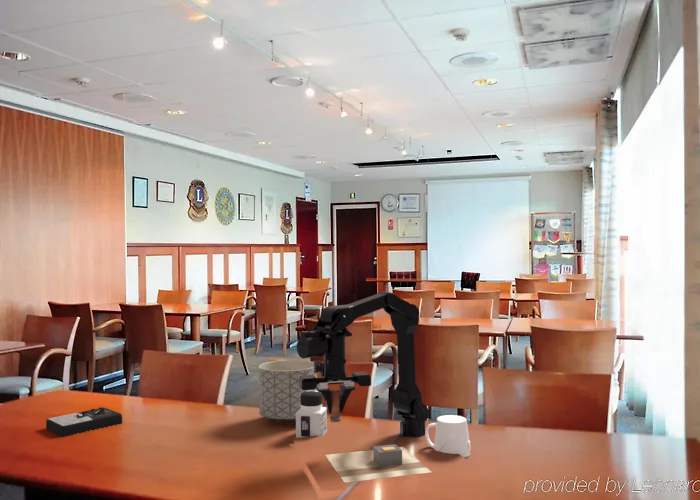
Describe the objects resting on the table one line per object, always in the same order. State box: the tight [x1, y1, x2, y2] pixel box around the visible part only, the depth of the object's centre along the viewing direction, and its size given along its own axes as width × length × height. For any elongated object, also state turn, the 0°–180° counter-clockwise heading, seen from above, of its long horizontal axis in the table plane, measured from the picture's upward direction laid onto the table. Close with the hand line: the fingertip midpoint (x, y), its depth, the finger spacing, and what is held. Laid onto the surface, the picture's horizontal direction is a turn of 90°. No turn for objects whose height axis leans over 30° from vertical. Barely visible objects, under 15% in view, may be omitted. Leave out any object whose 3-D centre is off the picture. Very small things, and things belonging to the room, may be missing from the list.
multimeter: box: [45, 406, 123, 438], centre depth 192 cm, size 13×19×5 cm
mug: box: [424, 414, 471, 458], centre depth 162 cm, size 12×9×8 cm
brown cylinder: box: [329, 389, 341, 423], centre depth 158 cm, size 3×3×8 cm
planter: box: [258, 359, 318, 425], centre depth 196 cm, size 19×19×18 cm
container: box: [295, 391, 328, 439], centre depth 180 cm, size 8×8×13 cm
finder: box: [372, 443, 402, 467], centre depth 152 cm, size 6×5×4 cm
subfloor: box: [324, 446, 432, 484], centre depth 151 cm, size 22×20×1 cm
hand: (335, 413), depth 158 cm, fingers closed on brown cylinder, 3 cm apart
